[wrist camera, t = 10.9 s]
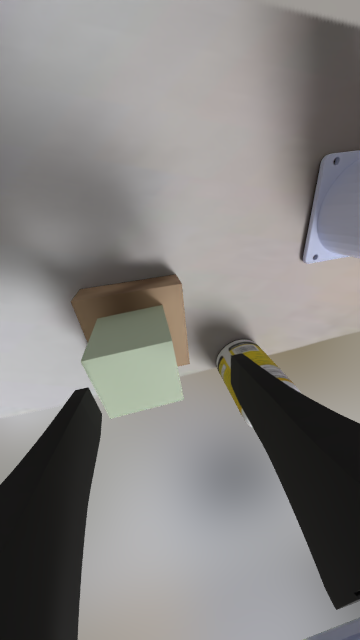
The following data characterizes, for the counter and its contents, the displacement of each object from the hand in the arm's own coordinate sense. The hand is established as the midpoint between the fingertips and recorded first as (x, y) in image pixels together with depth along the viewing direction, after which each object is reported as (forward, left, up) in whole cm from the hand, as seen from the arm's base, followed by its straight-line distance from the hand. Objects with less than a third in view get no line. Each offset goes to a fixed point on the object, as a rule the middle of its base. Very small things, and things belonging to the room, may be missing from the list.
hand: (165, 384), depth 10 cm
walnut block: (+2, +1, -10) cm, 10 cm away
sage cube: (+2, +1, -7) cm, 7 cm away
